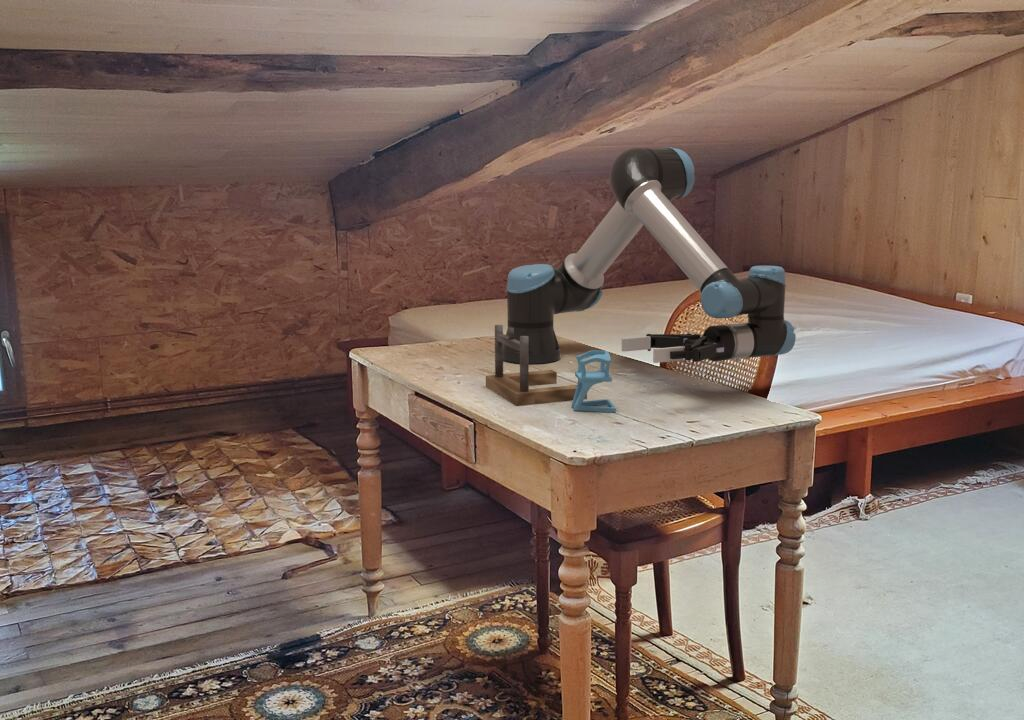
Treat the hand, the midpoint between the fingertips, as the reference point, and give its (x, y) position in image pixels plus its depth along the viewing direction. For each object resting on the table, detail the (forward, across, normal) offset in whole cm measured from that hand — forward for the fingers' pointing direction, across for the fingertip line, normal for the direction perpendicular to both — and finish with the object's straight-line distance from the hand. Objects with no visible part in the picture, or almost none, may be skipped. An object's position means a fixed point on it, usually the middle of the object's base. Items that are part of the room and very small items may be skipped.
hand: (637, 350), depth 203 cm
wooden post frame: (+16, +18, -11) cm, 26 cm away
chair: (+10, +1, -12) cm, 15 cm away
